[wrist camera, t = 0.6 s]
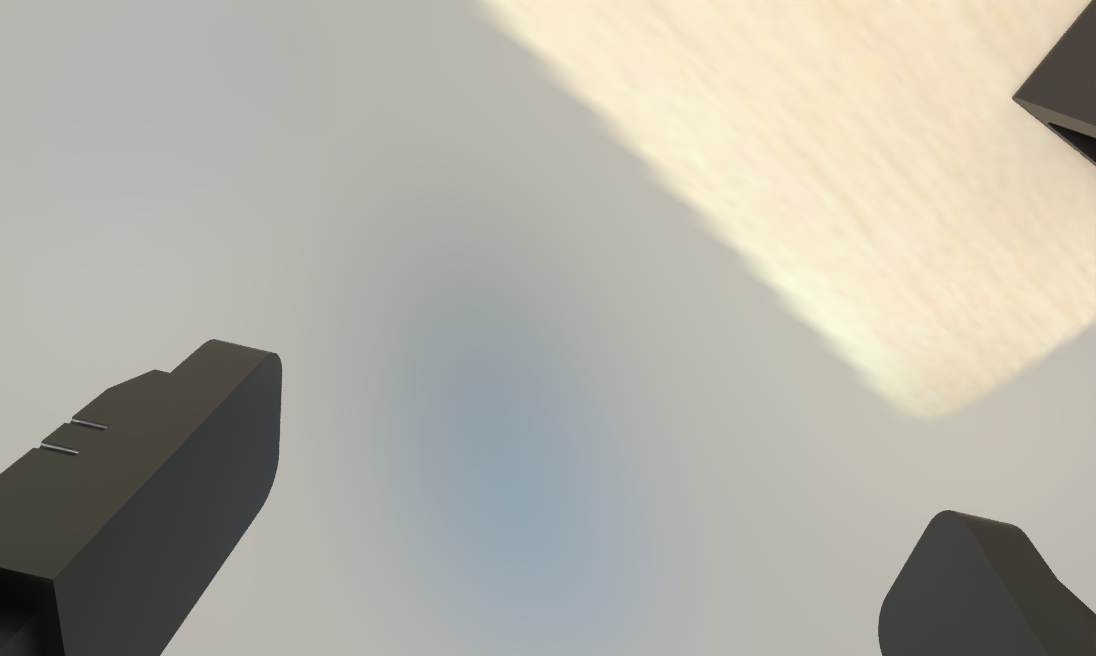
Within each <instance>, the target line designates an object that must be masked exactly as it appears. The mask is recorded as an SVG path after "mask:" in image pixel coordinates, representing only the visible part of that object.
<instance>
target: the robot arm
mask: <svg viewBox="0 0 1096 656" xmlns="http://www.w3.org/2000/svg"><path fill="white" fill-rule="evenodd" d="M281 385H282V364H281V360H280V357H279V356H278V355H277V354H276V353H272V352H268V351H264V350H259V349H255V348H251V347H246V346H242V345H237V344H233V343H229V342H224V341H220V340H215V339H213V340H209V341H207V342H206V343H204V344H203V345H202V346H201V347H200V348H198V349H197V350H196V351H195V352H194V353H193V354H191V355H190V356H189V357H188V358H187V359H186V360H185V361H183V362H182V363H181V364H180V365H179V366H178V367H176V368H175V369H174V370H173V371H172V372H171V373H167V372H163V371H159V370H152V371H150V372H148V373H145V374H143V375H140V376H138V377H136V378H133V379H130V380H128V381H126V382H123V383H121V384H118V385H116V386H113V387H111V388H109V389H107V390H106V391H104V392H103V393H102V394H101V395H99V396H98V397H97V398H96V399H94V400H93V401H92V402H90V403H89V404H88V405H87V406H85V407H84V408H83V409H82V410H80V411H79V412H78V413H77V414H75V415H74V416H73V417H72V421H71V423H70V424H68V423H64V424H63V425H61V426H60V427H59V428H58V429H57V430H56V431H54V432H53V433H51V434H50V435H49V436H48V437H46V438H45V439H44V440H43V441H42V443H41V446H40V448H39V449H37V448H33V449H31V450H30V451H29V452H28V453H26V454H25V455H24V456H23V457H21V458H20V459H19V460H17V461H16V462H15V463H14V464H12V465H11V466H10V467H9V468H7V469H6V470H5V471H4V472H2V473H1V474H0V656H160V655H161V653H162V652H163V650H164V649H165V648H166V646H167V645H168V643H169V642H170V640H171V639H172V637H173V636H174V634H175V633H176V631H177V630H178V629H179V627H180V626H181V624H182V623H183V621H184V620H185V618H186V617H187V615H188V614H189V613H190V611H191V610H192V608H193V607H194V605H195V604H196V603H197V601H198V600H199V598H200V597H201V595H202V594H203V592H204V591H205V590H206V588H207V587H208V585H209V584H210V582H211V581H212V579H213V578H214V576H215V575H216V573H217V572H218V571H219V569H220V568H221V566H222V565H223V563H224V562H225V560H226V559H227V557H228V556H229V555H230V553H231V552H232V550H233V549H234V547H235V546H236V545H237V543H238V542H239V540H240V539H241V537H242V536H243V534H244V533H245V531H246V530H247V529H248V527H249V526H250V524H251V523H252V521H253V520H254V518H255V517H256V515H257V514H258V513H259V511H260V510H261V508H262V506H263V505H264V503H265V501H266V499H267V497H268V495H269V493H270V490H271V487H272V485H273V482H274V478H275V474H276V470H277V466H278V460H279V440H280V413H281V388H282V386H281ZM878 636H879V644H880V649H881V652H882V655H883V656H1096V614H1095V613H1094V612H1093V611H1092V610H1091V609H1089V608H1088V607H1087V606H1086V605H1085V604H1084V603H1083V602H1082V601H1081V600H1079V599H1078V598H1077V597H1076V596H1075V595H1074V594H1073V593H1072V592H1071V591H1070V590H1068V588H1066V587H1065V586H1064V585H1063V584H1062V583H1061V582H1060V581H1059V580H1058V579H1057V578H1056V576H1055V575H1054V574H1053V572H1052V571H1051V569H1050V568H1049V566H1048V565H1047V564H1046V562H1045V561H1044V559H1043V558H1042V557H1041V555H1040V554H1039V552H1038V551H1037V550H1036V548H1035V547H1034V545H1033V544H1032V543H1031V541H1030V540H1029V538H1028V537H1027V535H1026V534H1025V533H1024V532H1023V531H1022V530H1021V529H1020V528H1018V527H1017V526H1015V525H1012V524H1008V523H1003V522H999V521H995V520H990V519H986V518H982V517H977V516H973V515H969V514H964V513H960V512H956V511H950V510H946V511H942V512H940V513H938V514H937V515H936V516H935V517H934V518H933V519H932V520H931V521H930V523H929V524H928V526H927V528H926V529H925V531H924V533H923V535H922V536H921V538H920V540H919V541H918V543H917V545H916V547H915V548H914V550H913V552H912V553H911V555H910V557H909V558H908V560H907V562H906V563H905V565H904V567H903V568H902V570H901V572H900V574H899V575H898V577H897V579H896V580H895V582H894V584H893V585H892V587H891V589H890V591H889V592H888V594H887V596H886V597H885V599H884V602H883V605H882V607H881V612H880V616H879V626H878Z"/></svg>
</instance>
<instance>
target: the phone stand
mask: <svg viewBox="0 0 1096 656" xmlns="http://www.w3.org/2000/svg"><path fill="white" fill-rule="evenodd" d="M1012 99H1013V100H1014V101H1015V102H1016V103H1018V104H1019V105H1020V106H1021V107H1023V108H1024V109H1025V110H1026V111H1028V112H1029V113H1030V114H1031V115H1033V116H1034V117H1035V118H1036V119H1038V120H1039V121H1040V122H1041V123H1043V124H1044V125H1045V126H1046V127H1048V128H1049V129H1050V130H1051V131H1053V132H1054V133H1055V134H1056V135H1058V136H1059V137H1060V138H1061V139H1063V140H1064V141H1065V142H1066V143H1068V144H1069V145H1070V146H1071V147H1073V148H1074V149H1075V150H1078V151H1080V152H1081V155H1083V156H1084V157H1085V158H1086V159H1088V160H1089V161H1090V162H1091V163H1093V164H1094V165H1095V166H1096V0H1092V1H1091V2H1090V3H1089V5H1088V6H1087V7H1086V8H1085V9H1084V11H1083V12H1082V13H1081V14H1080V16H1079V17H1078V18H1077V19H1076V20H1075V22H1074V23H1073V24H1072V25H1071V26H1070V28H1069V29H1068V30H1067V31H1066V33H1065V34H1064V35H1063V36H1062V37H1061V39H1060V40H1059V41H1058V42H1057V43H1056V45H1055V46H1054V47H1053V48H1052V50H1051V51H1050V52H1049V53H1048V54H1047V56H1046V57H1045V58H1044V59H1043V61H1042V62H1041V63H1040V64H1039V65H1038V67H1037V68H1036V69H1035V70H1034V71H1033V73H1032V74H1031V75H1030V76H1029V78H1028V79H1027V80H1026V81H1025V82H1024V84H1023V85H1022V86H1021V87H1020V89H1019V90H1018V91H1017V92H1016V93H1015V95H1014V96H1013V97H1012Z"/></svg>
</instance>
